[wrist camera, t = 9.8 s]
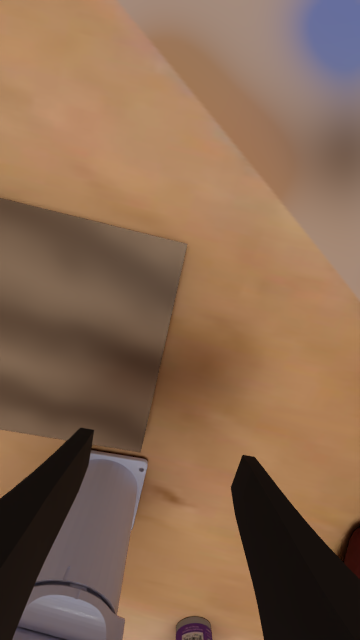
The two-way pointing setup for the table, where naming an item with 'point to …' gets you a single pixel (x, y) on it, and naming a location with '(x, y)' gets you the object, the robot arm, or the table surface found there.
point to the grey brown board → (81, 324)
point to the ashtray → (354, 553)
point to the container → (193, 629)
